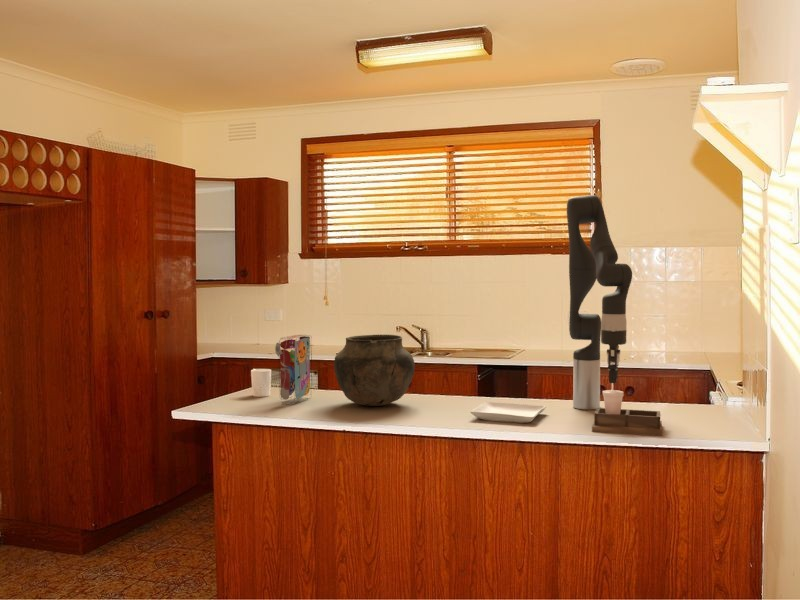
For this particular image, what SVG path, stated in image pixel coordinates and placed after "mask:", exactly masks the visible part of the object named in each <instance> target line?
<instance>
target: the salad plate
mask: <svg viewBox="0 0 800 600" xmlns="http://www.w3.org/2000/svg"><path fill="white" fill-rule="evenodd" d="M546 408H547V406H546V405H537V404H526V403H513V402H501V401H500V402H499V401H498V402H497V401H486V402H484V403H481V404H480V405H478V406H476V407H475V408H473V409H471V410H470V411H469V412H470V414H471V415H473V417H475V418H478V419H481V420H484V421H493V422H504V423H506V422H507V423H516V424H524V423H525V424H527V423H531V422H532V421H534V419H535V418H536V417H537V416H538V415H540V414H541V413H543V412H544V411H545V409H546Z"/></svg>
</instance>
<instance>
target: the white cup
mask: <svg viewBox="0 0 800 600" xmlns="http://www.w3.org/2000/svg"><path fill="white" fill-rule="evenodd" d="M250 377H251V389H252V396H253V397H259V398H260V397H261V398H263V397H270V396H271V388H272V387H271V385H272V369H270V368H254V369H251V370H250Z"/></svg>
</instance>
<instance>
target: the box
mask: <svg viewBox="0 0 800 600" xmlns="http://www.w3.org/2000/svg"><path fill="white" fill-rule="evenodd" d="M281 340H282V341H281ZM290 349H291V350H290ZM274 350H275V353H276V355H277V357H278V359H279V361H278V368H280V369H279V379H280V382H279V396H280V397H279V399H280V402H281V405H285V402H283V401H282V400H284V401H285V400H286V401H287V400H288V402H291V401H292V400H294V402H295V399H297V400H298V399H300V400H298V402H295V403H294V404H292V406H293V405H297V404H300V403H302V402H305V401H307V400H308V399H310V398H308V397H304V396H308V395H309V396H310V395H311V396H310V397H312V393H310V391H311V384H313V377H312V375H313V374H311V370H312V369H313V368H312V358H313V356H312V348H311V336H310V335H307V334H294V335H290V336H284V337H280V340H278V342H276V343H275V347H274ZM310 359H311V361H310ZM292 362H293V363H294V366H293V365H292ZM280 366H283V367H280ZM309 393H310V394H309ZM292 395H293V399H292ZM290 396H291V397H290ZM302 398H304V401H301V399H302ZM289 399H290V400H289ZM299 401H300V402H299ZM286 406H289V404H287V403H286Z"/></svg>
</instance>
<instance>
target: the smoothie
mask: <svg viewBox="0 0 800 600" xmlns="http://www.w3.org/2000/svg"><path fill="white" fill-rule="evenodd" d="M624 393H625V392H624V391H621V390H615V389H614V383H611V389H606V390H602V394H601V395H602V396H603V403H604V408H605V413H606V414H620V412H621V409H622V403H623V397H624V396H625V394H624Z"/></svg>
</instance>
